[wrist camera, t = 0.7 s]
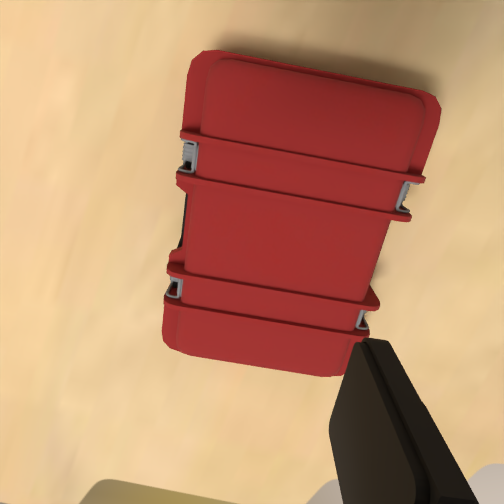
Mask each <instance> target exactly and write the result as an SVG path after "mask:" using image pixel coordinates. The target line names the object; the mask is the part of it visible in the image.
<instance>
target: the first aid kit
mask: <svg viewBox="0 0 504 504" xmlns="http://www.w3.org/2000/svg"><path fill="white" fill-rule="evenodd" d="M440 115H441V107H440V105H439V103H438V101H437V99H436V97H435V96H433V95H431V94H429V93H427V92H425V91H422V90H417V89H412V88H407V87H402V86H397V85H392V84H387V83H382V82H377V81H372V80H367V79H362V78H357V77H352V76H347V75H342V74H337V73H332V72H326V71H321V70H316V69H311V68H306V67H301V66H296V65H291V64H286V63H281V62H276V61H271V60H266V59H261V58H256V57H251V56H246V55H241V54H235V53H230V52H225V51H220V50H209V51H202V52H201V53H200V54H199V55H197V56H196V57H195V58H194V59H193V60H192V61H191V65H190V68H189V71H188V74H187V82H186V92H185V102H184V112H183V122H182V130H180V138H181V140H182V141H185V143H184V146H183V148H184V149H183V155H182V156H183V158H182V160H184V161H183V165H182V166H180V167H179V168H178V170H177V171H176V179H177V183H176V185H177V186H178V187H180V188H181V189H182V190H183V191H184V192H186V198H185V208H184V216H183V225H182V234H181V238H180V241H179V244H178V247H177V249H174V250H172V251H171V253H170V254H169V262H168V264H167V274H169V275H170V280H171V283H170V285H169V287H168V289H167V291H166V293H165V295H164V314H163V324H162V336H163V341H164V342H165V343H166V344H167V346H168V347H169V348H171V349H174V350H177V351H180V352H182V353H184V354H187V355H190V356H196V357H202V358H208V359H214V360H220V361H226V362H233V363H239V364H245V365H251V366H257V367H264V368H270V369H276V370H282V371H288V372H295V373H301V374H307V375H313V376H319V377H331V376H341V375H343V374H345V371H346V368H347V365H348V361H349V358H350V355H351V352H352V349H353V346H354V344H355V343H356V342H361V341H362V339H363V338H365V337H367V338H369V335H370V331H369V326H368V324H367V322H366V320H365V318H364V313H366V311H376V310H378V309H379V307H380V301H379V299H378V298H377V296H376V294H375V293H374V291H373V289H372V288H371V286H370V281H371V278H372V275H373V272H374V269H375V266H376V263H377V260H378V257H379V254H380V251H381V248H382V245H383V242H384V239H385V236H386V233H387V230H388V227H389V224H390V221H391V220H394V221H400V222H410V221H411V218H412V215H411V214H410V213H409V212H410V210H409V209H407V208H406V207H404V206H403V205H402V202H403V201H405V198H406V194H407V191H408V190H409V186H410V185H409V183H410V184H415V185H419V184H420V183H424V182H425V179H426V177H424V176H422V172H423V169H424V166H425V163H426V160H427V158H428V155H429V152H430V149H431V146H432V143H433V140H434V138H435V135H436V132H437V129H438V126H439V122H440Z"/></svg>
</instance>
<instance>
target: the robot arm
mask: <svg viewBox="0 0 504 504" xmlns="http://www.w3.org/2000/svg"><path fill="white" fill-rule="evenodd" d="M329 437H330V441H331V446H332V451H333V456H334V461H335V466H336V471H337V475H338V480H339V485H340V490H341V495H342V499H343V504H479V503H478V501H477V499H476V497H475V495H474V493H473V492H472V490H471V488H470V486H469V484H468V482H467V481H466V479H465V477H464V475H463V473H462V472H461V470H460V468H459V466H458V464H457V462H456V461H455V459H454V457H453V455H452V453H451V452H450V450H449V448H448V446H447V444H446V442H445V441H444V439H443V437H442V435H441V433H440V432H439V430H438V428H437V426H436V424H435V422H434V421H433V419H432V417H431V415H430V413H429V412H428V410H427V408H426V406H425V405H424V404H423V402H422V401H421V399H420V398H419V396H418V394H417V392H416V390H415V388H414V387H413V385H412V383H411V381H410V379H409V377H408V376H407V374H406V372H405V370H404V368H403V366H402V365H401V363H400V361H399V359H398V357H397V355H396V354H395V352H394V350H393V348H392V346H391V344H390V343H389V342H388V341H386V340H380V339H374V338H367V337H365V338H363V339H362V341H361V342H356V343H355V344H354V346H353V349H352V352H351V355H350V358H349V361H348V365H347V368H346V371H345V374H344V377H343V380H342V384H341V387H340V390H339V393H338V396H337V399H336V402H335V406H334V409H333V412H332V415H331V418H330V422H329Z"/></svg>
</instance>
